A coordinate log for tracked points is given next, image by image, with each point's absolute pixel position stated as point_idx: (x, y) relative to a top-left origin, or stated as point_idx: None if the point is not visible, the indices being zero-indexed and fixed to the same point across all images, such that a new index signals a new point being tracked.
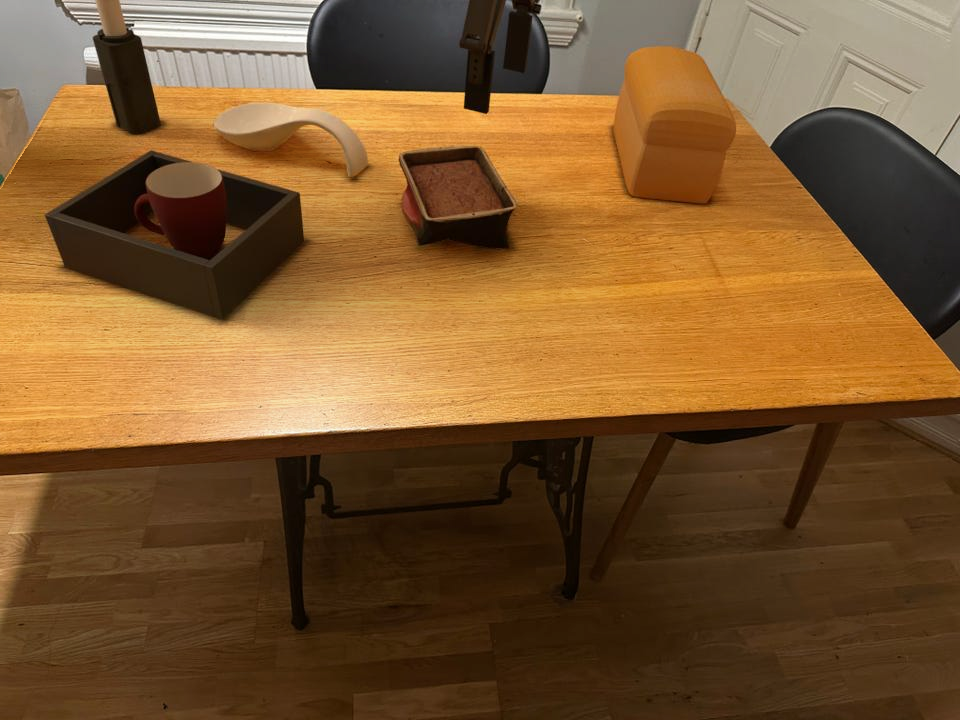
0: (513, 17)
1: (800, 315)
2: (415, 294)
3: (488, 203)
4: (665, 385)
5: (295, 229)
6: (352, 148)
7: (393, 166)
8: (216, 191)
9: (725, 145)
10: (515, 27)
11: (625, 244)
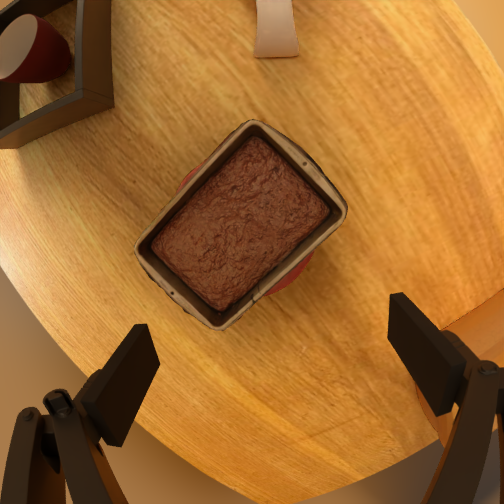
0: (442, 372)
1: (291, 470)
2: (113, 251)
3: (222, 287)
4: (163, 429)
5: (90, 108)
6: (270, 37)
7: (322, 80)
8: (11, 76)
9: (439, 437)
10: (429, 365)
11: (318, 378)
